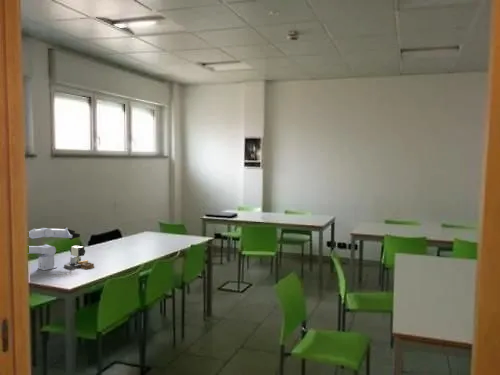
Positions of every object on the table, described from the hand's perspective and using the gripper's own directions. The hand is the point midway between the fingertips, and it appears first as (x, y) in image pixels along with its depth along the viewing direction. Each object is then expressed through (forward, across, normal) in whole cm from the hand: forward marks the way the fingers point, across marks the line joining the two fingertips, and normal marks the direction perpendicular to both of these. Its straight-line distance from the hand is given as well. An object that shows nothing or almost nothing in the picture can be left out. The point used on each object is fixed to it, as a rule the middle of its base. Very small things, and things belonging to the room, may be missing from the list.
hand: (77, 233), depth 305 cm
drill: (-5, -14, +20) cm, 25 cm away
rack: (+2, -21, +18) cm, 27 cm away
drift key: (+3, -13, +19) cm, 23 cm away
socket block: (-5, -14, +20) cm, 25 cm away
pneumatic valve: (+6, 0, +21) cm, 22 cm away
